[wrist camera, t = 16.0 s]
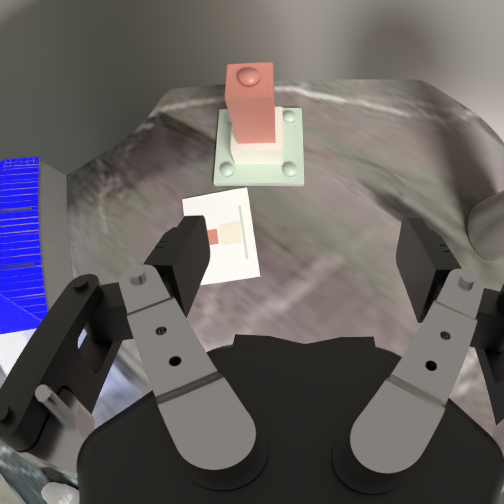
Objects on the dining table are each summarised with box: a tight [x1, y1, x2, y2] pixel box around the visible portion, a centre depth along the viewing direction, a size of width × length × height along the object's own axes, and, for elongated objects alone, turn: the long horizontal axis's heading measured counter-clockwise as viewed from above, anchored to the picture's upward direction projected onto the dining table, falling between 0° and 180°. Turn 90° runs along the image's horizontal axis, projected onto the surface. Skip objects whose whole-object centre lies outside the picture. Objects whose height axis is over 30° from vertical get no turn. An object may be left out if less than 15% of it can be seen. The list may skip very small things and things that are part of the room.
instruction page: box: [183, 187, 260, 285], centre depth 41 cm, size 9×12×1 cm
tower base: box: [214, 107, 304, 186], centre depth 39 cm, size 12×12×6 cm
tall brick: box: [225, 63, 276, 144], centre depth 31 cm, size 5×5×11 cm
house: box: [0, 157, 74, 334], centre depth 36 cm, size 25×16×16 cm, turn 13°
